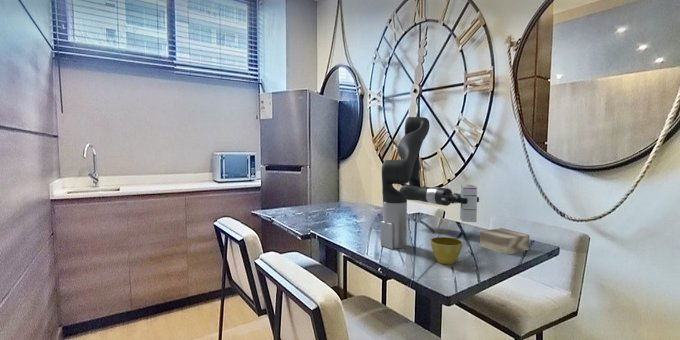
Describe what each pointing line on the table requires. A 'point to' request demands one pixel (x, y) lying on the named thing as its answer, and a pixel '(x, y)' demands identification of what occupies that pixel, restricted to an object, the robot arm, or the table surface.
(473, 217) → the syrup box
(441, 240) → the flower pot
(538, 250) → the table surface
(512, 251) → the birch block
